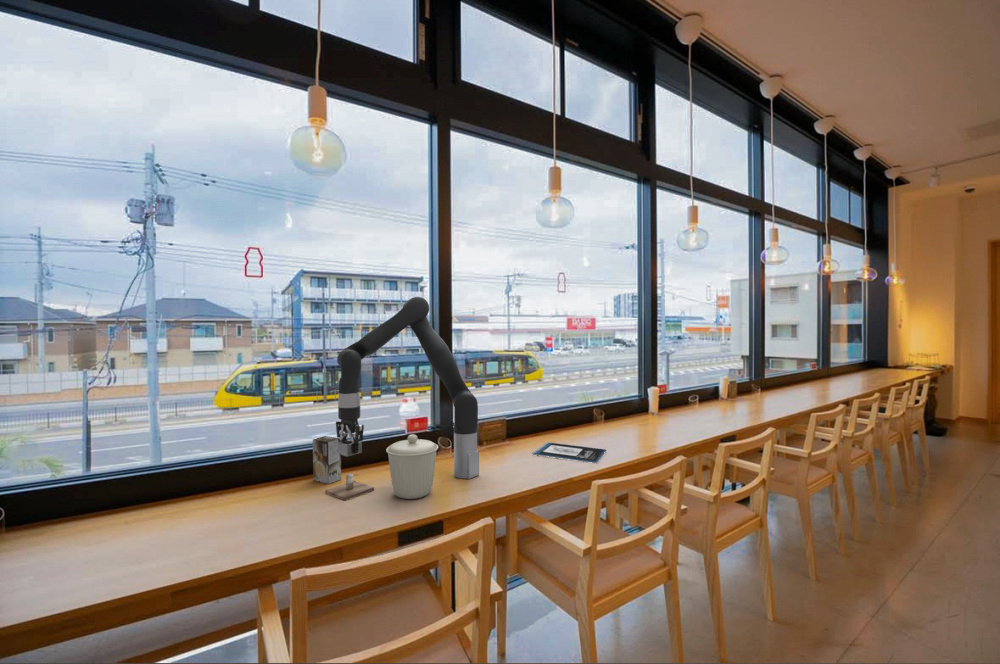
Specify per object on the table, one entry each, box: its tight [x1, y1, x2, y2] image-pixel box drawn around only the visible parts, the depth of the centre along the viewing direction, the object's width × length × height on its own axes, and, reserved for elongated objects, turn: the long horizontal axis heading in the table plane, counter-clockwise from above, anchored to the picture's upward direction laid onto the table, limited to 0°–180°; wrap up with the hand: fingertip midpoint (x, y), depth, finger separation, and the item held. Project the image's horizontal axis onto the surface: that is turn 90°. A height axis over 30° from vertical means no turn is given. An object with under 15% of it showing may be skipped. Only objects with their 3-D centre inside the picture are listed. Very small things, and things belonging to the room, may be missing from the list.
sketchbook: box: [531, 441, 607, 464], centre depth 204 cm, size 22×30×2 cm
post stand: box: [324, 473, 375, 501], centre depth 156 cm, size 12×12×6 cm
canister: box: [385, 434, 439, 500], centre depth 154 cm, size 18×18×21 cm
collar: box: [337, 439, 363, 458], centre depth 156 cm, size 6×6×4 cm
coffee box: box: [312, 435, 342, 484], centre depth 169 cm, size 9×6×16 cm
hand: (349, 451), depth 156 cm, fingers closed on collar, 6 cm apart
